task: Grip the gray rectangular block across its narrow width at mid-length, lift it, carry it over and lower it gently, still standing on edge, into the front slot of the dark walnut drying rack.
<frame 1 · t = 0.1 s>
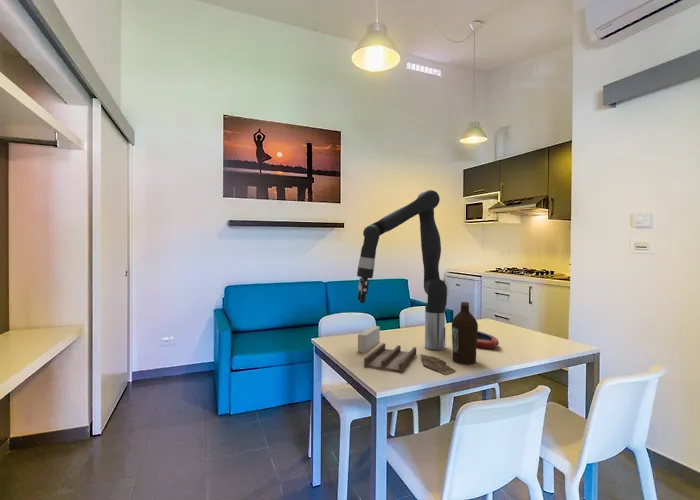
hand: (360, 301, 167), 22 cm above the table, tool pointing down, fingers open, 8 cm apart
olive oil: (463, 361, 151), on the table
wooden fragment: (433, 365, 147), on the table
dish: (474, 343, 180), on the table
gray rectangular block: (369, 346, 171), on the table
rack: (391, 360, 150), on the table
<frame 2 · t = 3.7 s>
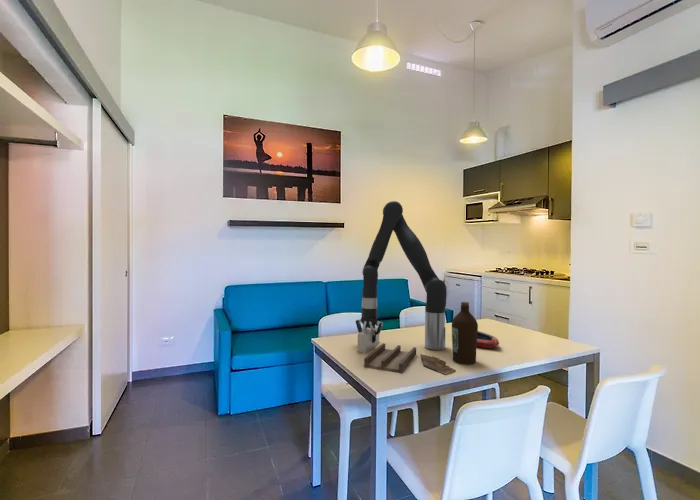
hand: (368, 341, 171), 2 cm above the table, tool pointing down, fingers closed on gray rectangular block, 4 cm apart
gray rectangular block: (368, 346, 171), on the table, touching gripper
everything else where it was.
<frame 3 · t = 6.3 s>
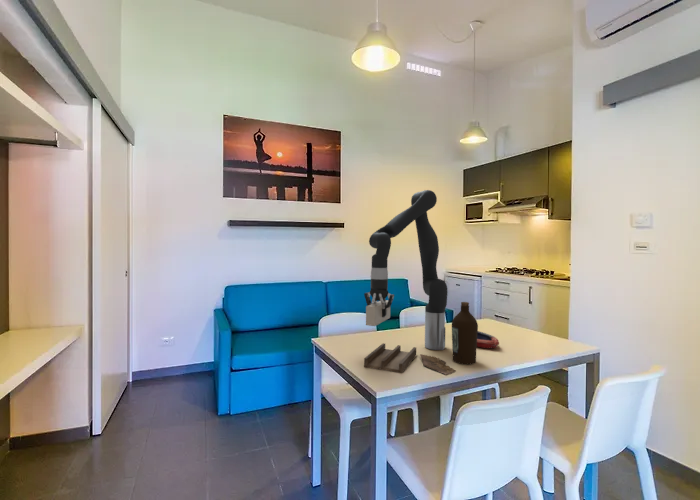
hand: (378, 316, 157), 17 cm above the table, tool pointing down, fingers closed on gray rectangular block, 4 cm apart
gray rectangular block: (378, 321, 157), point 15 cm above the table, touching gripper
everything else where it was.
when the fingers open (4 cm above the table, at t = 9.2 s): gray rectangular block drops 1 cm, resting on rack.
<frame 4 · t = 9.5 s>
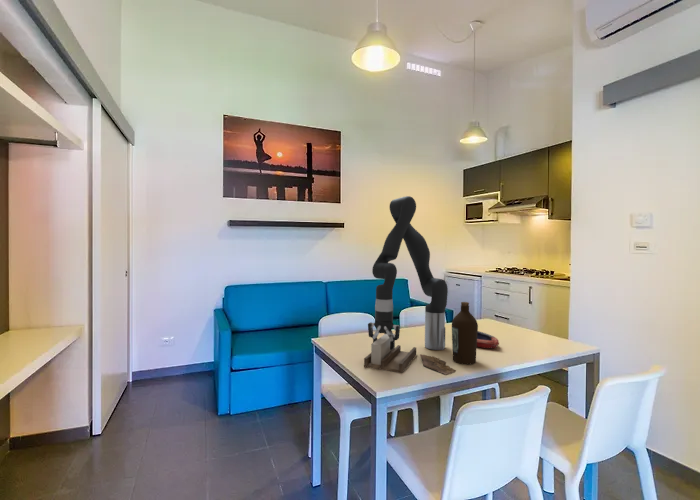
hand: (383, 348, 151), 5 cm above the table, tool pointing down, fingers open, 6 cm apart
gray rectangular block: (383, 357, 151), point 1 cm above the table, touching rack
everything else where it was.
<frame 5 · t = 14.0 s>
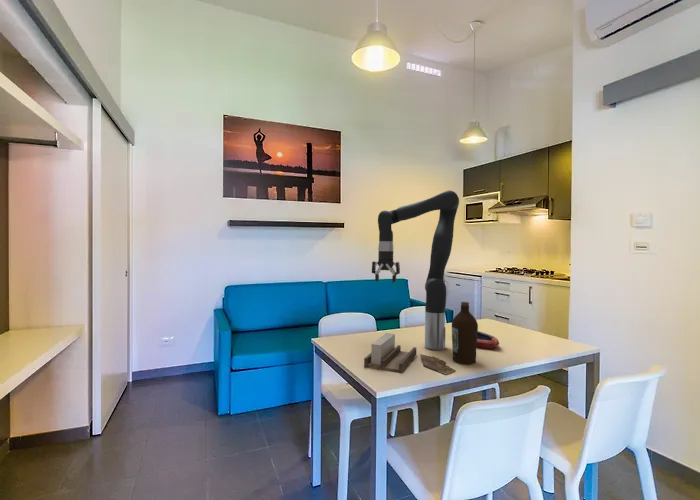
hand: (385, 282, 180), 30 cm above the table, tool pointing down, fingers open, 8 cm apart
nothing on the table moved.
at the end: gray rectangular block 0.1 cm from the target spot on the rack, point 1.0 cm above the rack's base; gray rectangular block tilted 0°; the gripper is holding nothing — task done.
